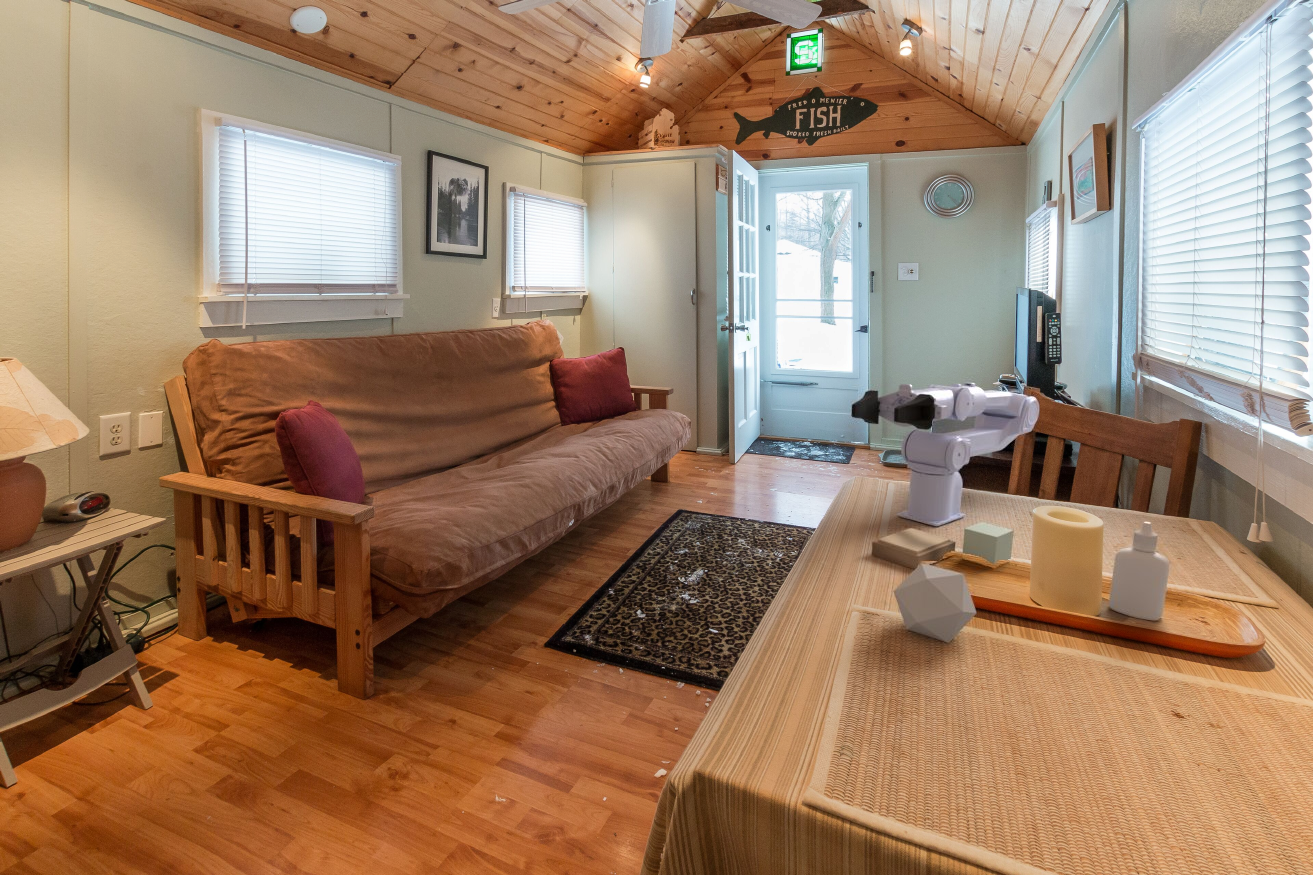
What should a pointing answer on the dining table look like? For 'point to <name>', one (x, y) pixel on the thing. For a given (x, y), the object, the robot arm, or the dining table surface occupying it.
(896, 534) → the plinth
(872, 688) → the dining table surface
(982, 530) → the sage block
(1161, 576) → the eye dropper bottle
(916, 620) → the die
